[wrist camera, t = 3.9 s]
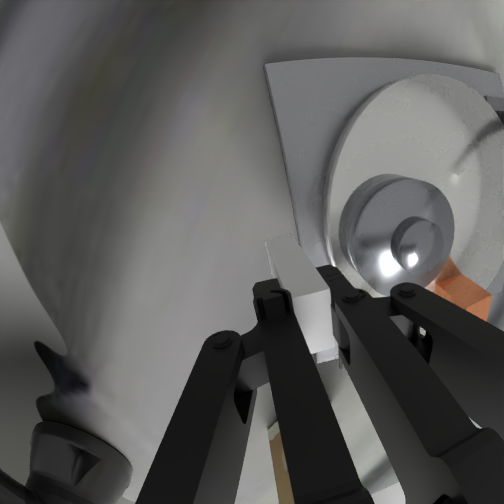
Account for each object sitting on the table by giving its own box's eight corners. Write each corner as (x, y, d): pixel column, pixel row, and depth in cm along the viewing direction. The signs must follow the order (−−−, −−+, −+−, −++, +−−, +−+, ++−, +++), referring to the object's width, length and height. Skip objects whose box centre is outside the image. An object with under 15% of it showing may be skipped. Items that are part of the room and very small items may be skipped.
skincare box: (299, 396, 26) (330, 505, 15) (331, 404, 27) (369, 501, 16) (264, 431, 28) (280, 529, 16) (296, 438, 29) (319, 527, 17)
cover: (343, 288, 19) (369, 322, 15) (331, 183, 16) (362, 195, 13) (427, 263, 19) (462, 287, 15) (424, 167, 17) (466, 176, 13)
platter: (335, 350, 23) (358, 396, 17) (295, 80, 16) (323, 56, 10) (500, 284, 23) (532, 307, 18) (498, 86, 16) (541, 85, 11)
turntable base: (315, 358, 24) (318, 366, 23) (263, 67, 16) (265, 62, 15) (497, 287, 25) (503, 291, 24) (493, 74, 17) (501, 73, 15)
